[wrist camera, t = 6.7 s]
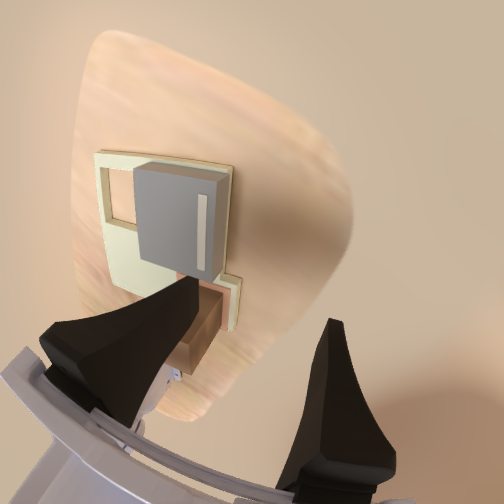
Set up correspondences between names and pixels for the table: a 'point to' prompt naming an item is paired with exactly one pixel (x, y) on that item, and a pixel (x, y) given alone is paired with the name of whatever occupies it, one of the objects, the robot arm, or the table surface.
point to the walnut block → (198, 332)
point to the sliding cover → (181, 218)
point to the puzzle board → (127, 246)
